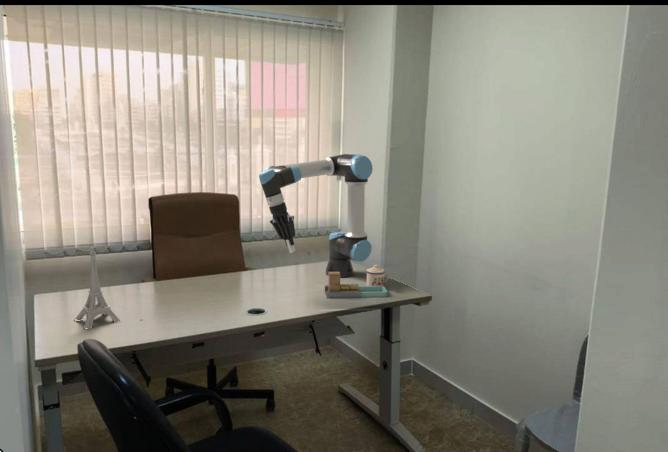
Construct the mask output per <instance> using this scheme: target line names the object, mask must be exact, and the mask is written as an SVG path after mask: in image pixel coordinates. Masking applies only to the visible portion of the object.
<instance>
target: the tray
mask: <svg viewBox="0 0 668 452" xmlns="http://www.w3.org/2000/svg"><path fill="white" fill-rule="evenodd" d="M359 291H361V297H362V298H371V297H372V298H373V297H374V298H377V297H378V298H379V297H380V298H381V297H383V298H384V297H388V296H389V292H388V290H387V289H386V287H385V285H384V286H366V285H359Z"/></svg>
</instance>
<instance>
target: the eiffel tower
mask: <svg viewBox="0 0 668 452" xmlns="http://www.w3.org/2000/svg"><path fill="white" fill-rule="evenodd" d="M96 253H97V252H96V250H95V247H93V246H91V247H90V250H89V257H90V283H89V291H88V297H87V300H86V302H85V304H84V305H82V309H81V311H80V312H79V313H78V314H77V316H76V317H75V318H74V320H75V319H77V320H81V319H83V320H84V317H85V316H86V317H85V323H84V326H83V327H85V328H91V327H93V322H94V320H95V318H96V317H97V316H99V315H102V314H104V315H106V314H107V315H106V316H109V317H110V319H111V322H112V321H114V322H116V323H118V322H117V321H120V320H121V319H120V318H119V317H118V316H117V315H116V314H115V313H114V311H113V310H112V307H111V305H109V304H108V303H107V301H106V300H105V298H104V295H103V292H104V291H102V288H101V285H100V280H99V275H98V269H97V268H98V267H97V261H96V259H97V258H96V257H97V254H96ZM104 315H103V316H104ZM114 322H113V323H114Z"/></svg>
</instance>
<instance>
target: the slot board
mask: <svg viewBox="0 0 668 452" xmlns="http://www.w3.org/2000/svg"><path fill="white" fill-rule="evenodd" d="M349 286H350V284H349ZM361 292H362V291H328V285H324V294H325V296H326V299H357V298H358V299H359V298H363V297H361Z"/></svg>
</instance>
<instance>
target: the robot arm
mask: <svg viewBox="0 0 668 452" xmlns="http://www.w3.org/2000/svg"><path fill="white" fill-rule="evenodd" d="M372 163H373V162H372V161H371V160H370V158H369V157H367V156H365V155H362V154H349V153H344V154H343V153H342V154H339V155H334V156H328V157H325V158H324V159H319V160H312V161H307V162H305V161H304V162H298V163H289V164H284V165H269V166H267V167H266V168H265V169H264V170H263V171H261V172H260V173H259V174H258V179H259V182H260V185H261V189H262V191H263V194H264V196H265V199H266V200H265V201H266V203H267V206H269V209H268V210H269V211H270V215H272V219H271V220H269V223H270V224H271V225H272V226H273V228H274V230H275V232H276V233H277V235H278V237H279V240H284V243H285V245H286V247H287V248H288V251H289V253H290V254H293V253H295V252H296V251H297V250H296V247H295V241H294V239H293V238H294V237H296V230H295V223H294V221H295V220H294V219H295V216H294V215H290V213H289V212H288V211H287V210H288V208H287V204H286V202H285V199H284V195H283V193H282V188H285V187H287V186H289V185H293V184H295V183H298V182H299V181H301V179H306V178H311V177H312V178H314V177H319V176H327V177H332V176H337V177H344V183H345V184H346V185H347V231H335V232H330V234H329V239H328V242H329V243H328V248H329V249H328V262H327V265H326V268H325V275H326V276H328V277H329V272H340V278H347V277H348V278H349V277H352V276H353V275H354V268H353V264H352V261H353V262H358V263H359V262H360V263H361V262H364V261H365V260H367V259H368V257H370V255H371V253H372V250H373V249H372V248H373V247H372V244H371V242H370V241H369V240H368V234H367V232H365V206H366V205H365V203H366V201H365V199H366V197H365V189H366V186H365V185H366V184H367V183H368V182H369V181H368V180H369V178H370V177H371V175H372V174H373V170H374V167H373V164H372Z"/></svg>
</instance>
